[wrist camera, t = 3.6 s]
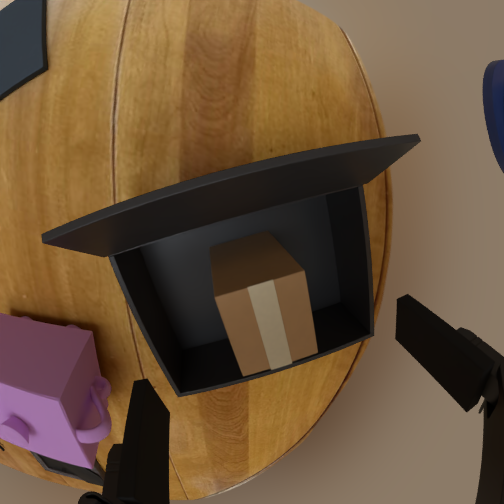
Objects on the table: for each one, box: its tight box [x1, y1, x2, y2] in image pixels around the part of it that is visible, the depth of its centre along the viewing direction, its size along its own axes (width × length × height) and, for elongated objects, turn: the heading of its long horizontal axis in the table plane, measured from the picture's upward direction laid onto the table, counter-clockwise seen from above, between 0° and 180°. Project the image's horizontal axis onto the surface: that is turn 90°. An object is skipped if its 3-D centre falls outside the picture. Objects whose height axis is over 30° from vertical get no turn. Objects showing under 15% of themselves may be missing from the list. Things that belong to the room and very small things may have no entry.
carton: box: [108, 185, 374, 397], centre depth 22 cm, size 17×13×6 cm
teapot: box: [0, 313, 112, 469], centre depth 18 cm, size 20×10×12 cm, turn 82°
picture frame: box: [29, 450, 105, 486], centre depth 28 cm, size 13×2×18 cm
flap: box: [42, 134, 421, 257], centre depth 13 cm, size 17×6×1 cm
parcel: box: [209, 231, 318, 376], centre depth 20 cm, size 5×6×9 cm
